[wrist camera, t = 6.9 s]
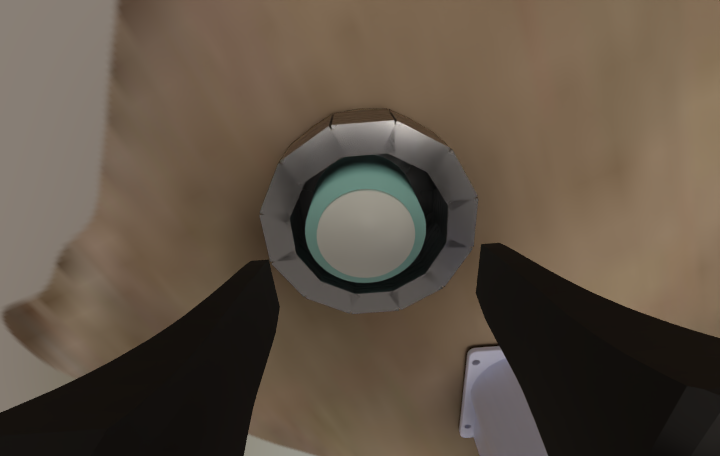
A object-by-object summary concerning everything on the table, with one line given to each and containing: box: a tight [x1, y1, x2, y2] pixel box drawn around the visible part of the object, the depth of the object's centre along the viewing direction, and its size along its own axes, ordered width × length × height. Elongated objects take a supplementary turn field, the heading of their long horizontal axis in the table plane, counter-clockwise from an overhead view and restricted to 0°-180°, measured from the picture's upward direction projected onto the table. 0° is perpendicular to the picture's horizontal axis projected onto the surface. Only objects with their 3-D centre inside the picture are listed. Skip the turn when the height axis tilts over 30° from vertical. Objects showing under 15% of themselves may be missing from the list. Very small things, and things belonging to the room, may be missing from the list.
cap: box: [305, 155, 426, 283], centre depth 15 cm, size 5×5×4 cm
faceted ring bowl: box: [259, 109, 478, 314], centre depth 16 cm, size 9×9×3 cm
